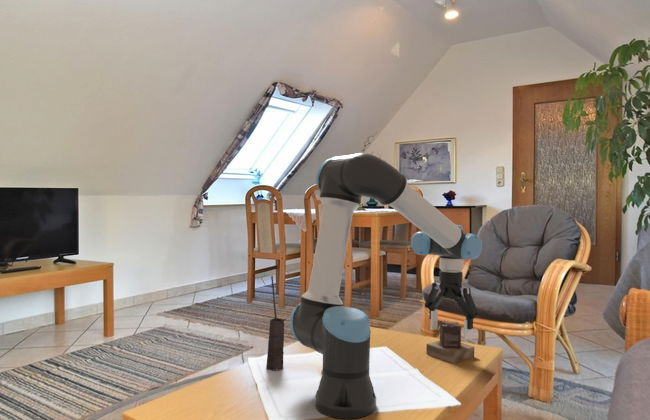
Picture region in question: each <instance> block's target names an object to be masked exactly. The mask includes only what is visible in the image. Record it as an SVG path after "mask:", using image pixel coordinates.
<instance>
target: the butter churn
mask: <svg viewBox="0 0 650 420" xmlns="http://www.w3.org/2000/svg"><path fill="white" fill-rule="evenodd" d="M270 279H271V286H272V287H271V288H272V298H273V301H272V302H273V310H274V311H273V312H274V317H273V318H272V319H271V318H270V320H269V321H270V322H269V329H268V330H269V331H268V332H269V333H268V340H267V341H268V344H267V357H266V366H265V367H266V369H267V370H269V371H280V370H282V369H284V353H285V352H284V346H285V345H284V343H285V322H284V321H286V320H287V319H286V318H284V319H282V318H278V316H277V307H276V299H275V297H276V296H275V287H274V277H273V275H271V278H270Z"/></svg>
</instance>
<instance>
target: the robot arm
mask: <svg viewBox="0 0 650 420" xmlns="http://www.w3.org/2000/svg"><path fill="white" fill-rule="evenodd" d="M315 176H316V177H315V183H316V187H317V188H318V191H319V192H320V194H319V198H318V199H319V202H320V203H321V205H322V213H321V218H320V224H319V227H318V235H317V238H316V239H317V240H316V245H315V250H314V256H313V261H312V262H313V263H312V268H311V273H310V277H309V278H310V279H309V284H308V288H307V289H308V290H307V291H306V292H304V293H303V294H302V295H301V299H300V302H299V304H297V305H296V307H294V308H293V310H292V312H291V314H290V317H289V329H290V331H291V334H292V335H293V338H294V339H296V340H297V341H298V342H299V343H300V344H302V345H303V346H305V347H306V348H309V349H311V350H313V351H315V352H317V353H319V354H321V355H322V375H321V378H320V381H319V384H318V388H317V390H316V393H315V398H314V399H315V401H314V402H315V403H314V404H315V408H316V409H317V410H318V411H319V412H320V413H321V414H324V415H326V416H329V417H331V418H337V419H351V420H352V419H358V418H363V417H366V416H369V415H371V414H373V413H374V412H375V411H376V408H377V397H376V393H375V390H374V386H373V383H372V379H371V376H370V361H371V360H370V356H371V355H370V353H371V352H370V351H371V332H372V331H371V327H370V326H371V325H370V319H369V316H368V315H367V314H366V313H365V312H364V311H362V310H361V309H359V308H355V307H348V306H343V304H344V303H343V301H342V299H341V298H340V296H339V295H340V292H341V291H340V290H341V285H342V283H341V282H342V279H343V272H344V267H345V261H346V255H347V250H348V245H349V237H350V232H351V226H352V221H353V215H354V212H355V211H356V210H357V209H358V208H360V207H361V202H362V201H361V200H362V197H366V198H370V199H374V200H375V201H377V202H378V203H380V204H381V205H382V206H389V207H391V208H393V209H394V210H395V211H396V212H397V213H398V214H400V215H401V216H402V217H404V219H406V220H408V221H409V222H410V223H411V224H412V225H413V226H415V227H416V228H418V230H420V231H417V232H415V233H413V235H412V237H411V240H410V241H411V249H412V251H413V252H414V254H416V255H420V256H427V255H429V256H431V255H432V256H439V267H438V268H439V271H438V273H439V275H438V276H439V280H438V281H437V282H432V284H431V290H430V292H429V294H428V296H427V299H426V301H425V303H424V307H425V308H427V309H428V311H429V314H428V315H429V320H430V330H431V331H435V330H438V319H439V317H438V316H439V315H438V313H439V310H437V308H438V307H439V305H440V304H441V303H442V302H443V301H444V299H450V300H454V301H455V302H456V303H457V305H458V307H459V308H460V310H461V311H462V314H464V317H465V318H463V340H469V339H472V330H473V328H474V319H479V317H480V315H479V312H478V309H477V307H476V304H475V302H474V299H473V297H472V293H471V292H472V291H471V287H462V283H463V279H464V278H463V277H464V276H463V275H464V274H463V271H462V270H463V264H464V263H463V262H464V261H465V260H475V259H478V258H479V257H480V255H481V253H482V251H483V242H482V239H481V237H479V235H478V234H474V233H471V232H470V233H466V232H464V228H463V226H462V225H460V224H455V223H454V222H453V221H451V220H450V219H449V218H448V217H447V216H446V215H445V214H444V213H442V212H441V211H440V210H439V209H437V207H435V206H434V205H433V204H432V203H430V201H429V200H427V198H425V197H424V196H422V195H421V194H420V193H419V191H418V192H417V190H416V189H415V188H413V187H412V186H411V185H410V184H408V179H407V177H406V176H405V174H404V175H403V173H401V171H399V170H398V169H397V168H395V167H394V166H392V165H391V164H390V163H388V161H386V160H384V159H382V158H380V157H378V156H376V155H374V154H371V153H368V152H358V153H352V154H347V155H336V156H333V157H331V158H328V159H326V160H324V162H323V163H321V164H320V166H319V167H318V170H317V172H316V175H315ZM439 290H440V291H439ZM438 292H439V293H438Z"/></svg>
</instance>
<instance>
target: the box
mask: <svg viewBox="0 0 650 420" xmlns="http://www.w3.org/2000/svg"><path fill="white" fill-rule="evenodd" d="M439 341H440V343H441V345H442V347H443V348H461V343H462V325H460V323H458V321H439Z"/></svg>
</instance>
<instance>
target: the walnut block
mask: <svg viewBox="0 0 650 420" xmlns="http://www.w3.org/2000/svg"><path fill="white" fill-rule="evenodd" d="M426 354H427V356H432V357H435V358H436V359H439V360H443V361H445V362H448V363H452V364H455V363H459V362H461V361H465V360H468V359H472V358H474V357H475V346H473V345H469V344H465V343H462V342H461V348H443V347H442V345H441V343H440V340H437V341H433V342H430V343H429V342H428V343H426Z"/></svg>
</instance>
